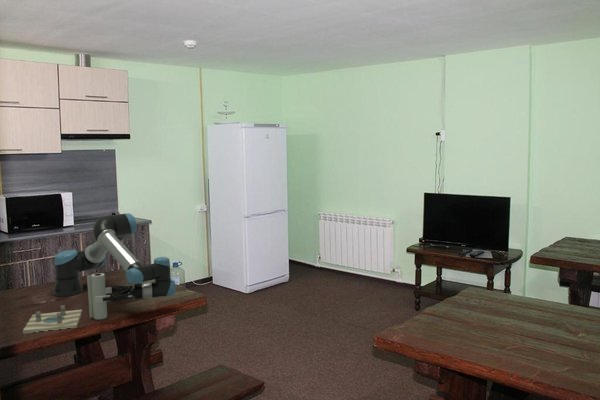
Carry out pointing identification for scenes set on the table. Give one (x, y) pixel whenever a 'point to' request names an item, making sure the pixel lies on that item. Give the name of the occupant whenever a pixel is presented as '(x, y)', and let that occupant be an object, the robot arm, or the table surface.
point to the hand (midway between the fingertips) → (96, 295)
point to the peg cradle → (53, 320)
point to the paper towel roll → (96, 295)
